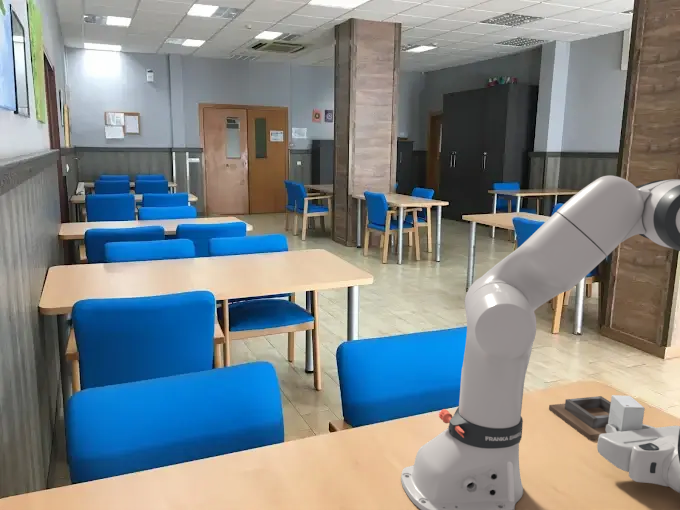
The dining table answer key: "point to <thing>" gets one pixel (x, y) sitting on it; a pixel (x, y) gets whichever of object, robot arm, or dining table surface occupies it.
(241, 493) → the dining table surface
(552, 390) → the dining table surface
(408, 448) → the dining table surface
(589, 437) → the collar stand
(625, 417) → the skincare box
